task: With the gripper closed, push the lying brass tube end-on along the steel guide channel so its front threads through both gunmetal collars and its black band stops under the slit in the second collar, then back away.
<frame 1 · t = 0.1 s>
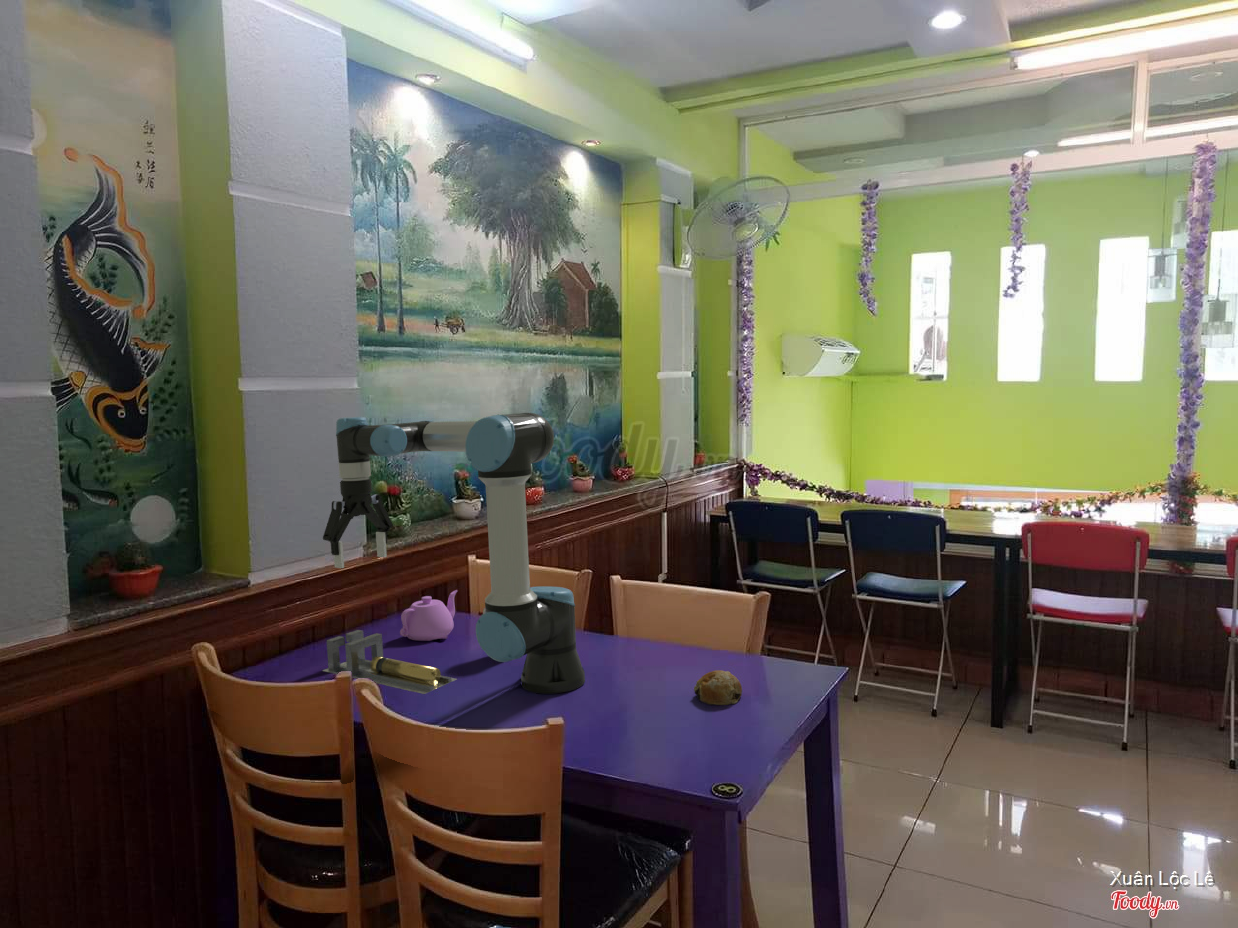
hand: (361, 562, 218), 28 cm above the table, fingers open, 13 cm apart
teapot: (431, 638, 246), on the table
tube: (405, 678, 209), point 1 cm above the table, touching collar base
collar base: (388, 678, 213), on the table
coffee cup: (504, 660, 224), on the table
bread roll: (717, 699, 192), on the table
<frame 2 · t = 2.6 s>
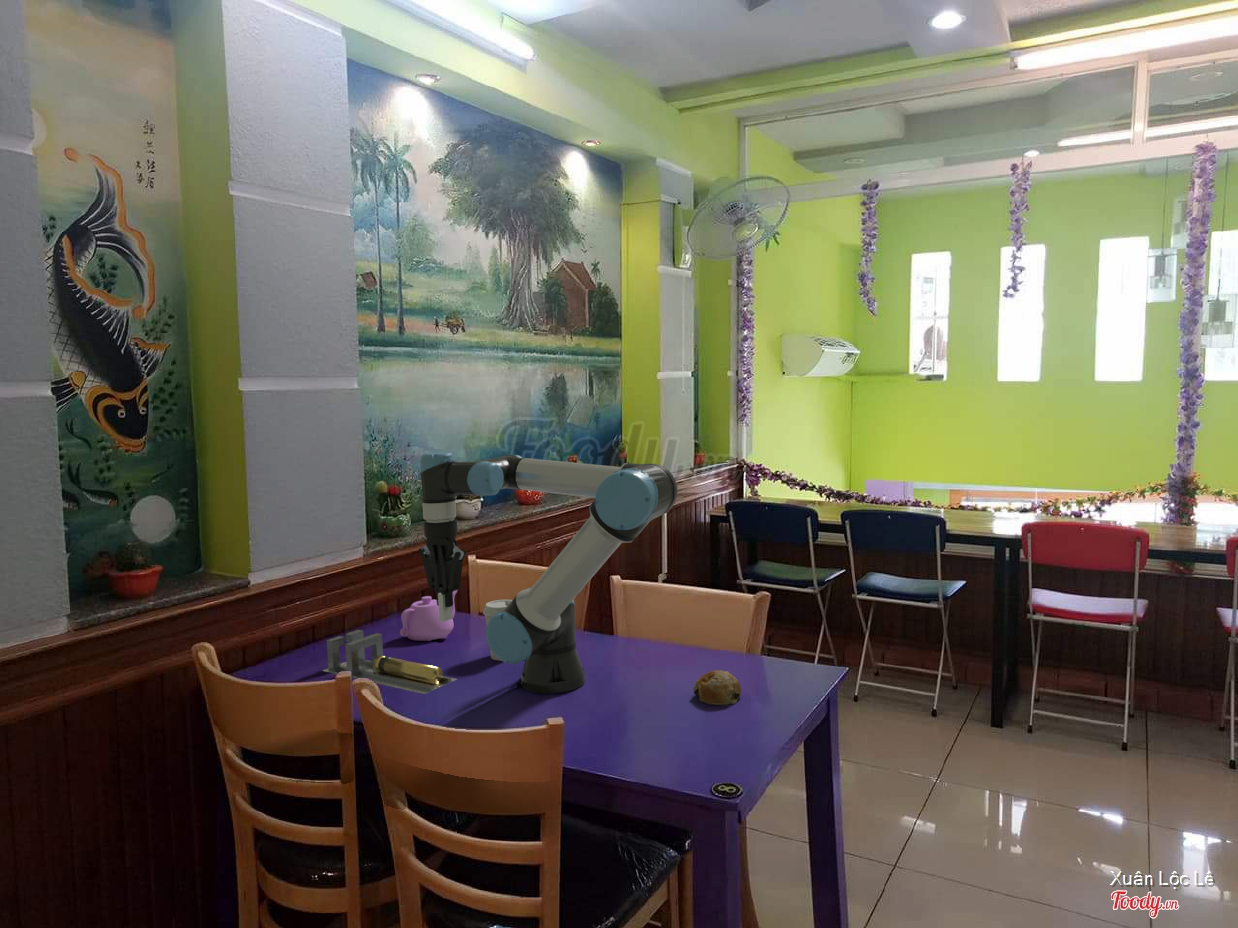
hand: (445, 619, 200), 17 cm above the table, fingers closed
tube: (405, 677, 209), point 1 cm above the table, tilted 22°, touching collar base
everything else where it was.
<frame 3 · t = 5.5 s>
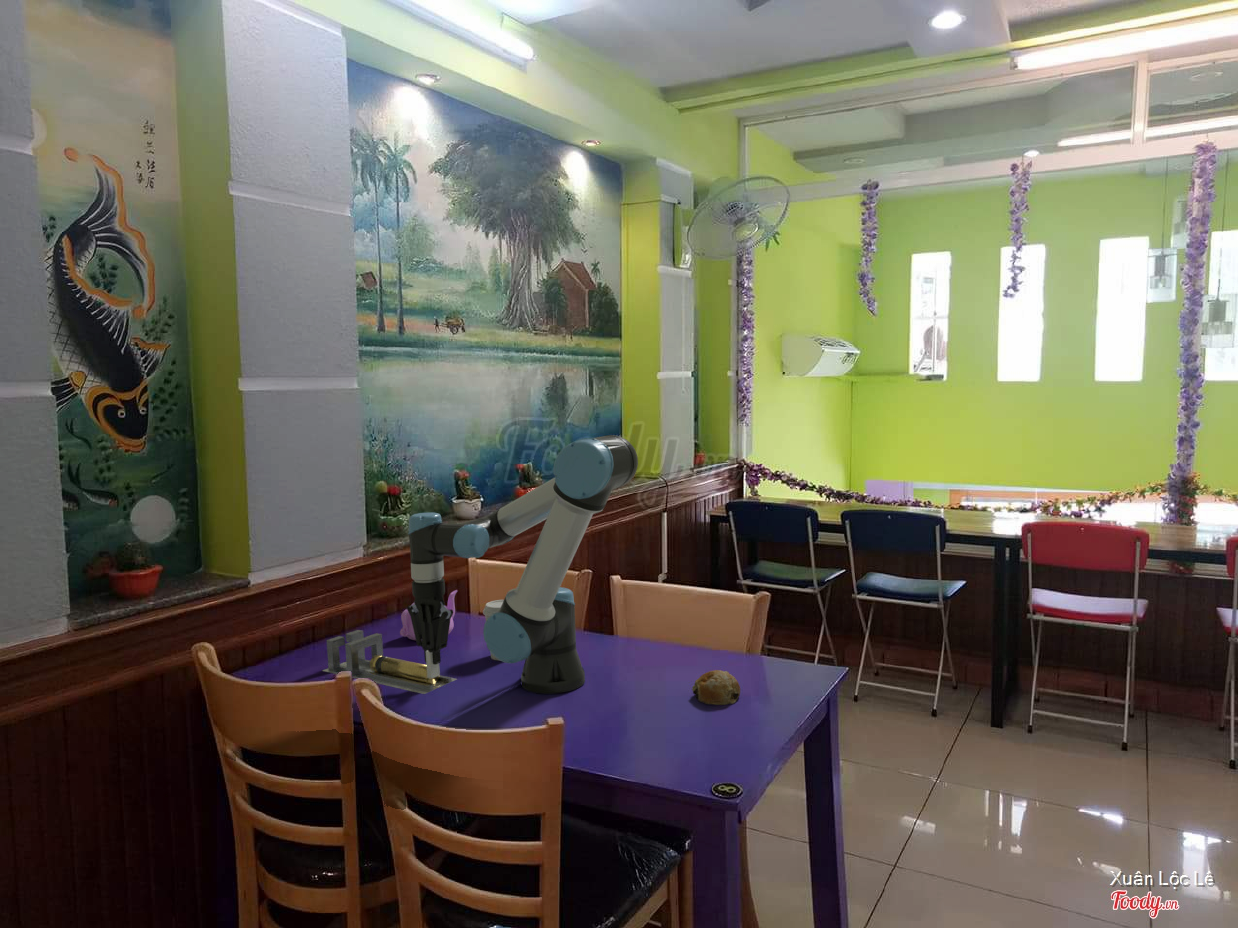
hand: (433, 676, 204), 3 cm above the table, fingers closed
tube: (402, 677, 210), point 1 cm above the table, tilted 22°, touching collar base, gripper
everything else where it was.
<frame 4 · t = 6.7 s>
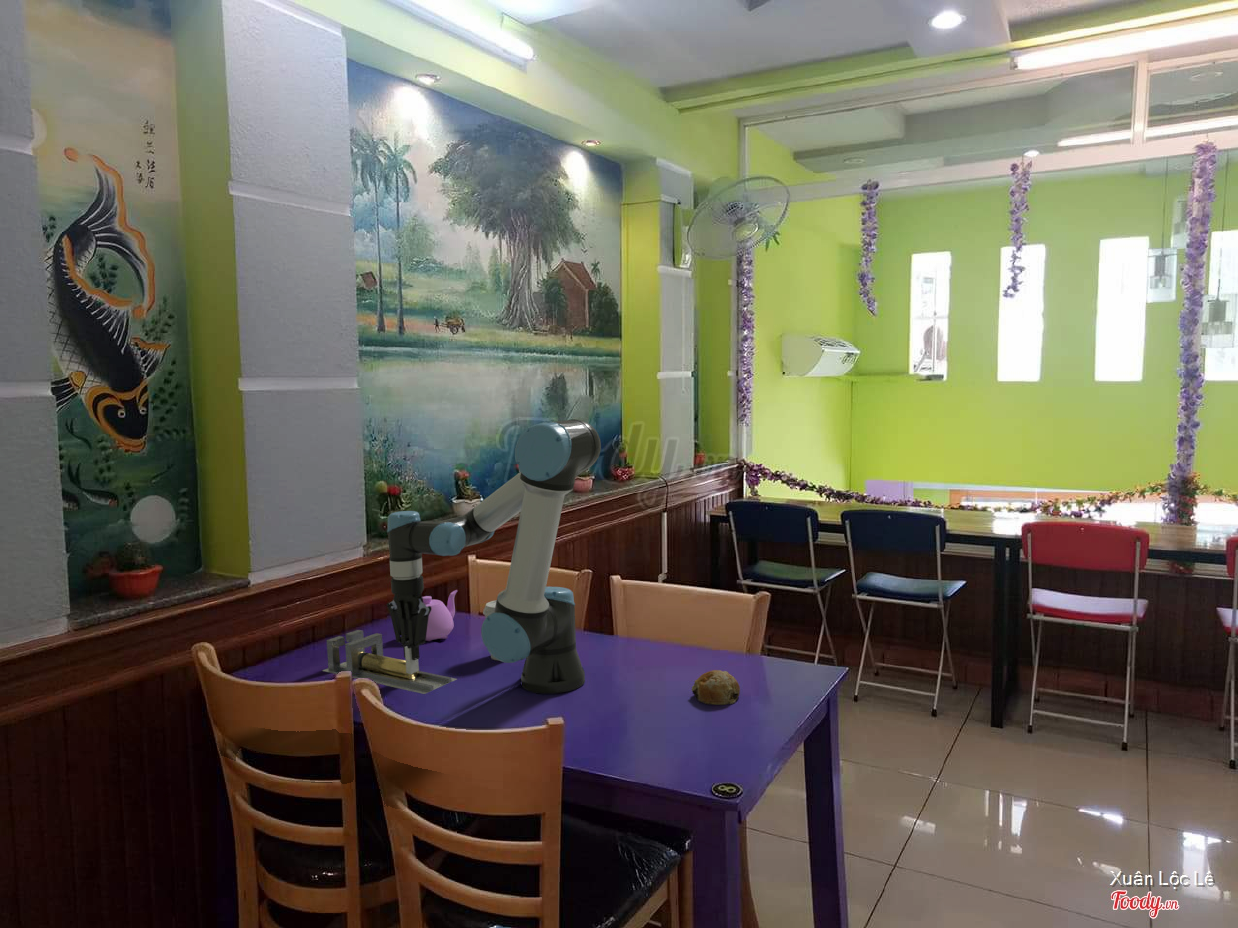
hand: (412, 671, 208), 3 cm above the table, fingers closed
tube: (382, 672, 214), point 1 cm above the table, tilted 23°, touching collar base, gripper
everything else where it was.
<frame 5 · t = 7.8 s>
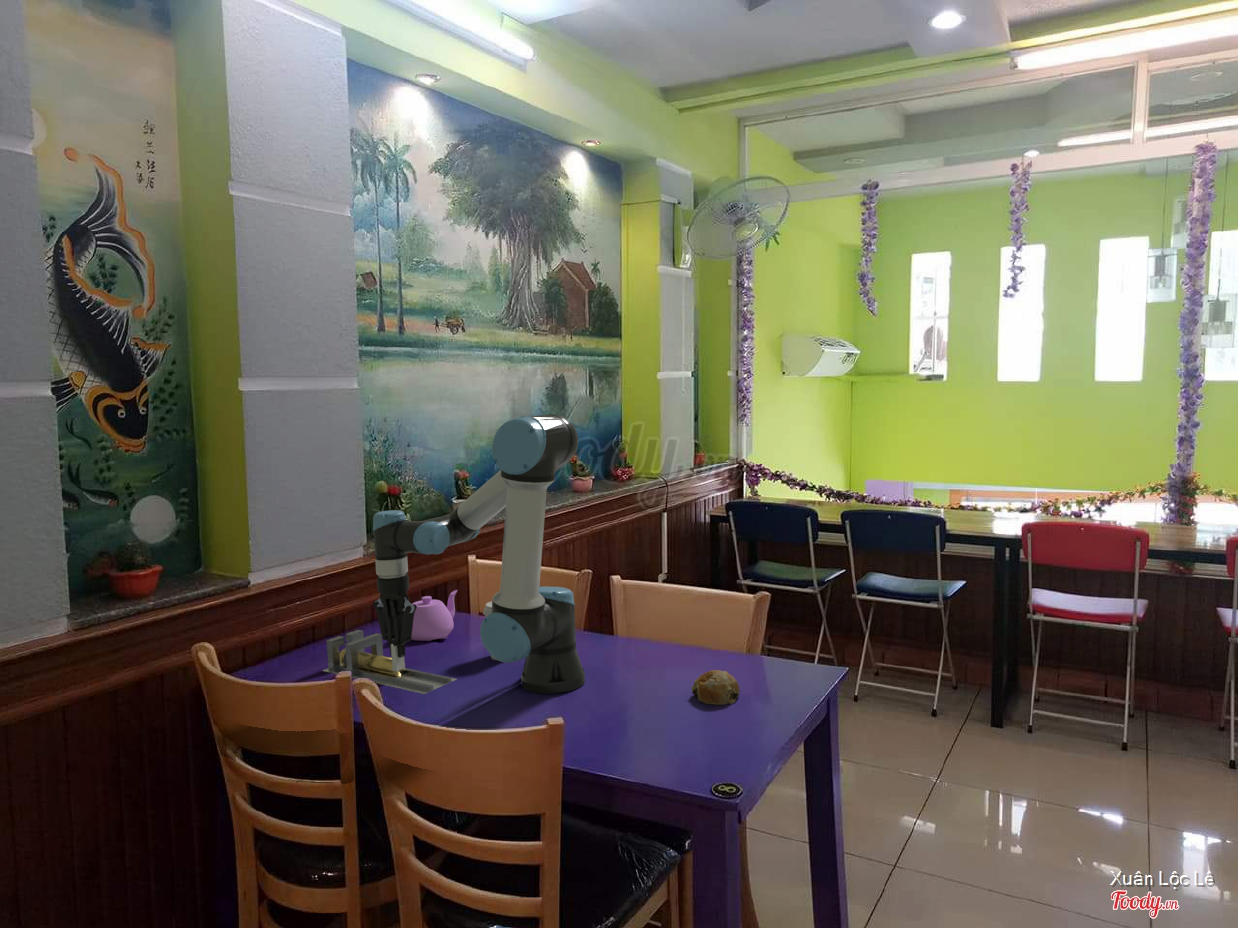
hand: (398, 669, 210), 3 cm above the table, fingers closed
tube: (369, 670, 216), point 1 cm above the table, tilted 20°, touching collar base, gripper
everything else where it was.
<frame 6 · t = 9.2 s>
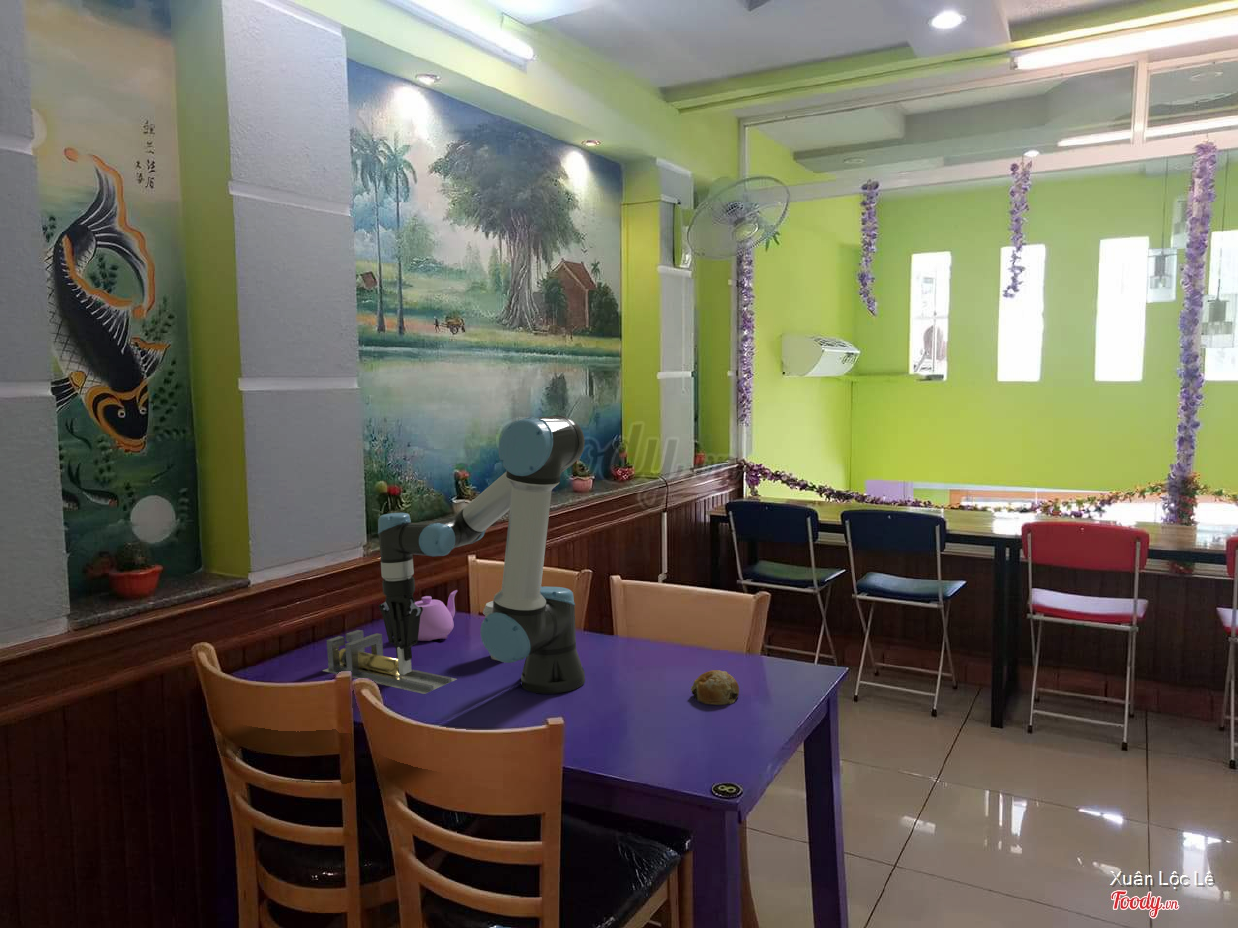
hand: (405, 672, 209), 2 cm above the table, fingers closed
tube: (367, 669, 217), point 1 cm above the table, tilted 21°, touching collar base
everything else where it was.
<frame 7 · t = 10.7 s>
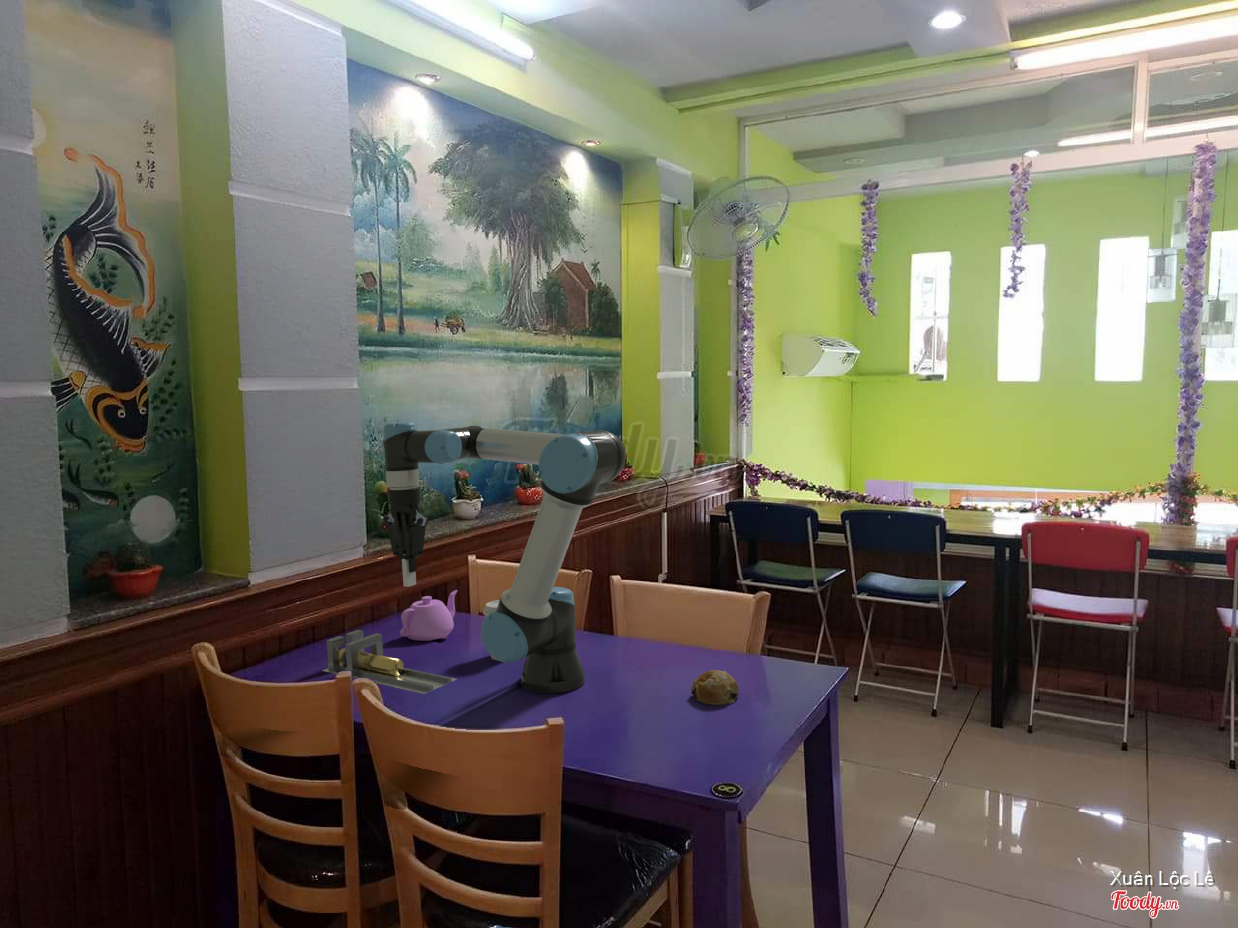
hand: (409, 585, 206), 24 cm above the table, fingers closed
nothing on the table moved.
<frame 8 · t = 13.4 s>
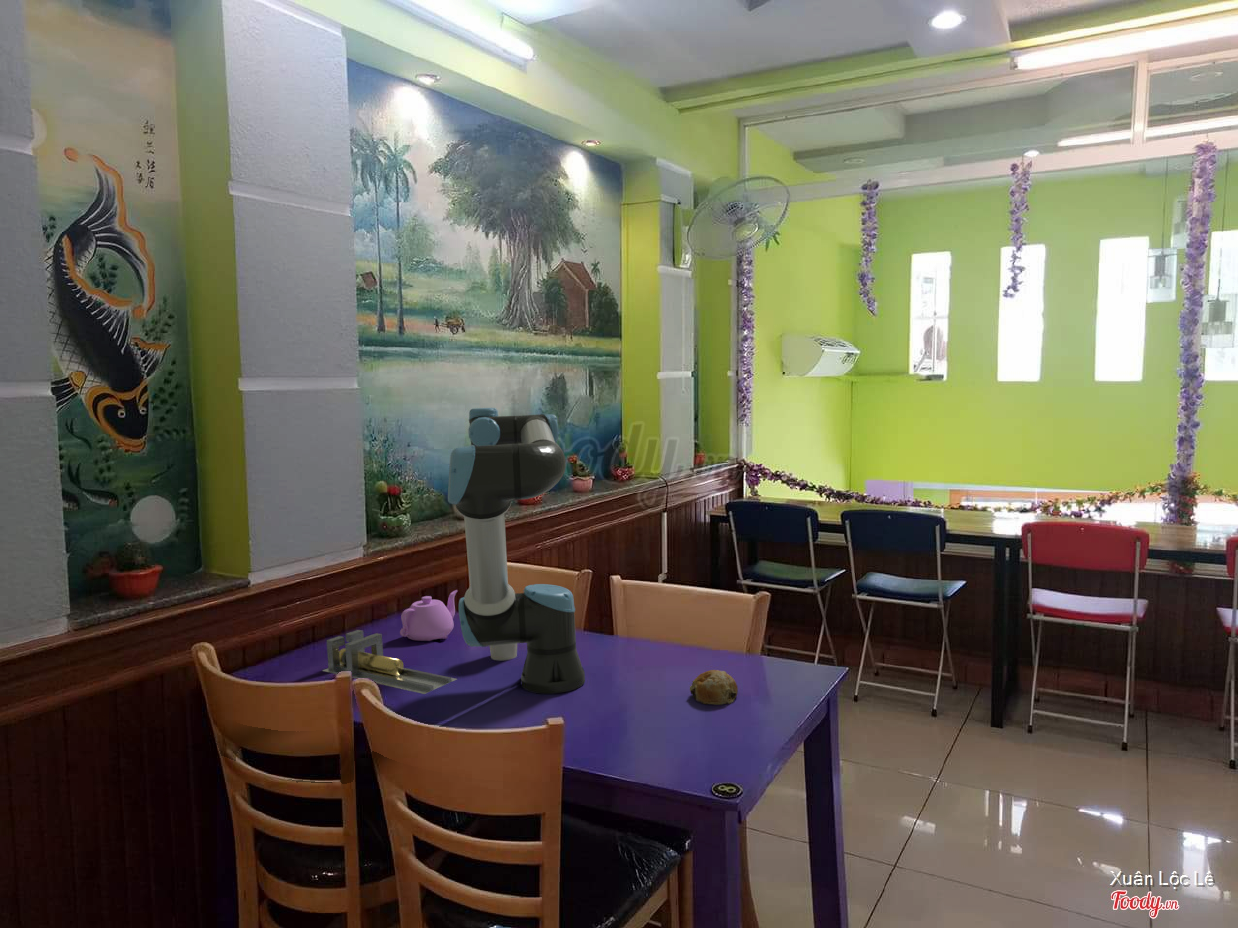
hand: (491, 555, 228), 26 cm above the table, fingers closed
nothing on the table moved.
at the end: tube 1.0 cm from the target spot, point 1.1 cm above the table; tube point 1.1 cm above the table; the gripper is holding nothing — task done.
